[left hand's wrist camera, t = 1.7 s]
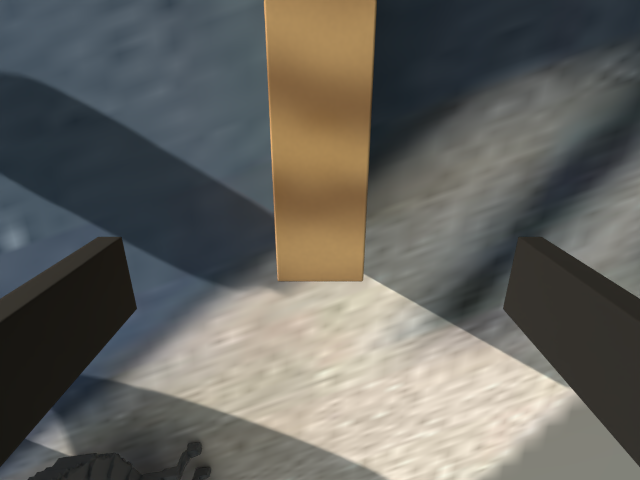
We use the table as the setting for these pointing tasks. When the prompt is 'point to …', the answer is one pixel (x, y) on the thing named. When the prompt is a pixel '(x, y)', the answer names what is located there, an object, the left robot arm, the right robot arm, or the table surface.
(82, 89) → the table surface
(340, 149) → the beam
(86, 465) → the toy
